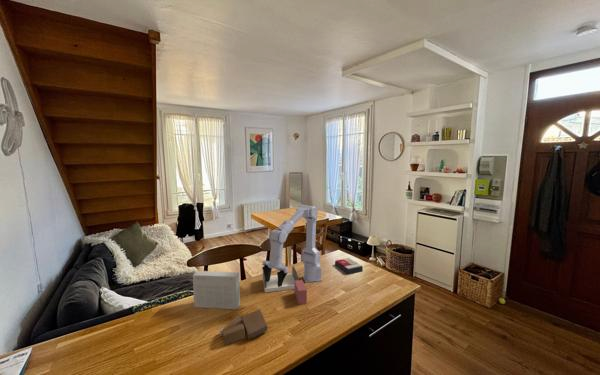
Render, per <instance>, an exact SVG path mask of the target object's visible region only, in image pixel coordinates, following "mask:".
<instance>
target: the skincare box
mask: <svg viewBox="0 0 600 375" xmlns="http://www.w3.org/2000/svg"><path fill="white" fill-rule="evenodd" d="M192 283H193V284H192V285H193V286H192V289H193V290H192V292H193V308H203V309H206V308H207V309H219V310H220V309H221V310H222V309H223V310H224V309H225V310H226V309H227V310H237V309H238V308H239V307H240V306H241V305H240V304H241V293H240V292H241V291H240V272H238V271H237V272H235V271H234V272H233V271H211V270H210V271H209V270H197V271H195V273H194V274H192Z"/></svg>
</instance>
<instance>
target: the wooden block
mask: <svg viewBox="0 0 600 375" xmlns="http://www.w3.org/2000/svg"><path fill="white" fill-rule="evenodd" d="M265 332H268V324H267V321H266V319H265V317H264V314H263V312H262V310H261V309H260V308H259V309H256V310H253V311H252V312H249V313H247V314H245V315H243V316H241V315H240V314H237V315H236V316H235V317H234V318H233V319H232V320H231V321H230V322H228V324H227V325H226V326H225V327H223V328H220V329H219V335H220V337H221V336H222V340H223V345H224V346H227V345H230V344H232V343H234V342H237V341H240V340H243V339H247V340H251V339H253V338H255V337H257V336H259V335H262V334H263V333H265Z"/></svg>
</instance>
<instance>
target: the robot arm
mask: <svg viewBox="0 0 600 375" xmlns="http://www.w3.org/2000/svg"><path fill="white" fill-rule="evenodd" d="M302 218H303V219H305V220H306V231H305V233H306V234H305V235H306V240H305V247H304V248H303V249H302V253H301V256H300V259H301V262H303V263H302V264H304V268H303V269H304V270H303V271H304V273H303V274H302V278H303V281H304V282H305V283H312V282H313V283H314V282H320V281H322V267H321V266H322V265H321V263H320V262H321V256H320V251H319V250H318V249H317V247H316V238H317V237H316V234H317V232H316V230H317V220H318V208H317V207H316V206H314V205H306V204H298V206H297V207H296V210H295V212H294V213H293V214H292V216H291V217H290V218H289V219H285V220H284V221H283V222H282V223H281V224H280V225H279V226H278V227H277V228H275V229H273V230H271V232H270V233H269V235H268V239H269V244H270V253H269V260H262V267H261V270H262V273H263V272H264V275H265V280H266V282H269V281H270V275H271V274H272V270H273V269H274V270H278V271H277V273H276V275H278V287H280V286H282V283H283V280H284V278H285V276H286V275H287V274H289V267H287V266H286V265H284V264H283V263H282V262H283V251H284V244H285V242H286V240H287V238H288V236H289V234H290V233H291V232H292V230H294V229H295V225H296V224H297V223H298V222H299V221H300V220H301V219H302Z"/></svg>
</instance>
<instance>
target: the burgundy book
mask: <svg viewBox="0 0 600 375" xmlns="http://www.w3.org/2000/svg"><path fill="white" fill-rule="evenodd" d="M307 290H308V289H307V287H306V286H305V283H304V280H303V279H298V280H296V281H295V289H294V295H295V298H296V301H297V304H298V305H304V304H308V302H307V301H308V300H307V299H308V297H307V296H308V291H307Z"/></svg>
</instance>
